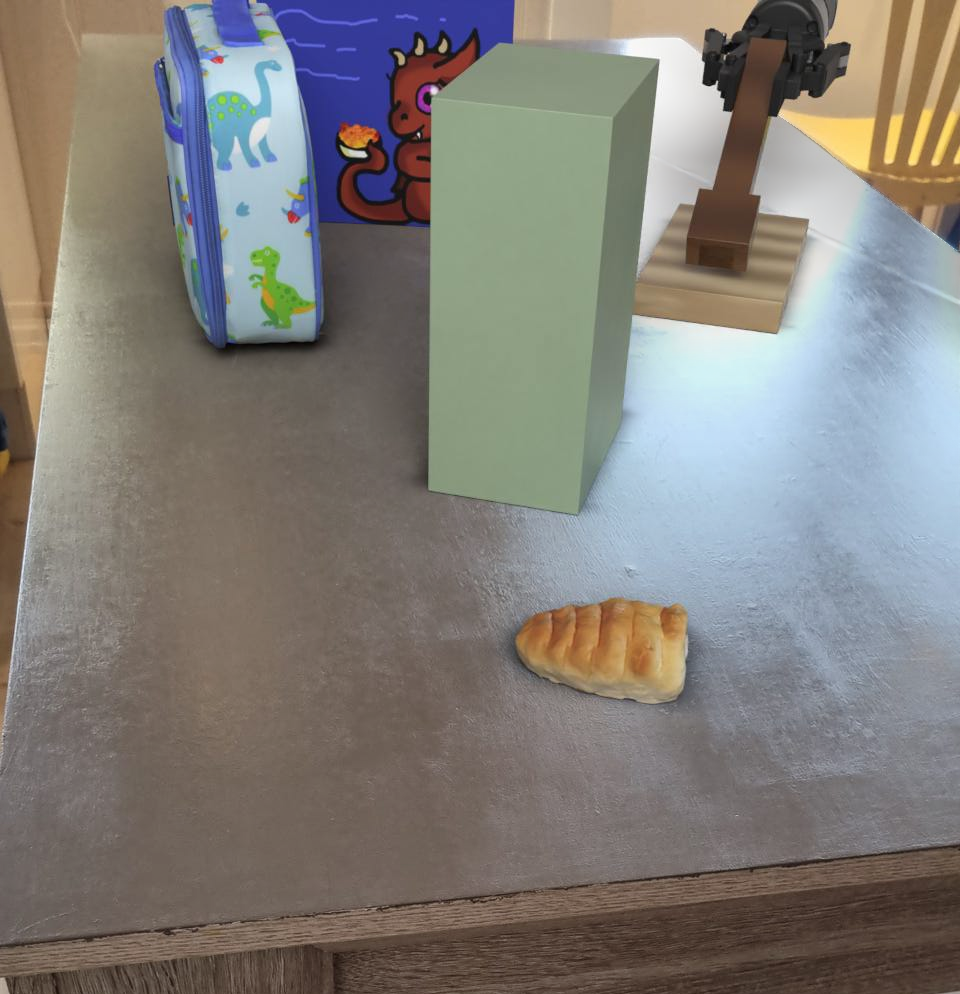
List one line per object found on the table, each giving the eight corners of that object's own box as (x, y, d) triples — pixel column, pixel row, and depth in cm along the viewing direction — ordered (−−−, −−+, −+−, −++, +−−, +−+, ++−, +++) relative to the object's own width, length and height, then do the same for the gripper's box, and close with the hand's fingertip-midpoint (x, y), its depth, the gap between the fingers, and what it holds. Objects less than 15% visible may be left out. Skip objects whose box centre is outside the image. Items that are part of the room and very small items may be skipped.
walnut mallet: (737, 61, 118) (740, 30, 115) (795, 67, 117) (799, 36, 114) (685, 264, 112) (686, 236, 109) (746, 272, 111) (748, 244, 108)
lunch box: (173, 253, 120) (141, -28, 106) (295, 247, 122) (280, -29, 108) (192, 374, 101) (156, 53, 87) (336, 365, 103) (324, 50, 89)
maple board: (676, 231, 129) (679, 203, 127) (804, 247, 126) (809, 218, 125) (631, 314, 113) (635, 283, 111) (777, 334, 111) (783, 302, 109)
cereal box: (505, 209, 132) (522, -180, 111) (504, 230, 127) (521, -171, 107) (280, 199, 132) (256, -191, 112) (270, 219, 127) (244, -184, 107)
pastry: (508, 695, 72) (512, 633, 70) (519, 626, 77) (523, 567, 75) (686, 711, 72) (697, 649, 69) (686, 641, 77) (695, 581, 74)
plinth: (485, 404, 99) (498, 42, 83) (620, 424, 97) (659, 58, 82) (428, 491, 89) (431, 97, 73) (577, 515, 87) (613, 117, 72)
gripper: (861, 89, 130) (842, 156, 113) (693, 72, 133) (650, 135, 116) (879, -3, 125) (862, 53, 108) (704, -19, 127) (660, 33, 111)
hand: (752, 95), depth 112 cm, fingers closed on walnut mallet, 3 cm apart
